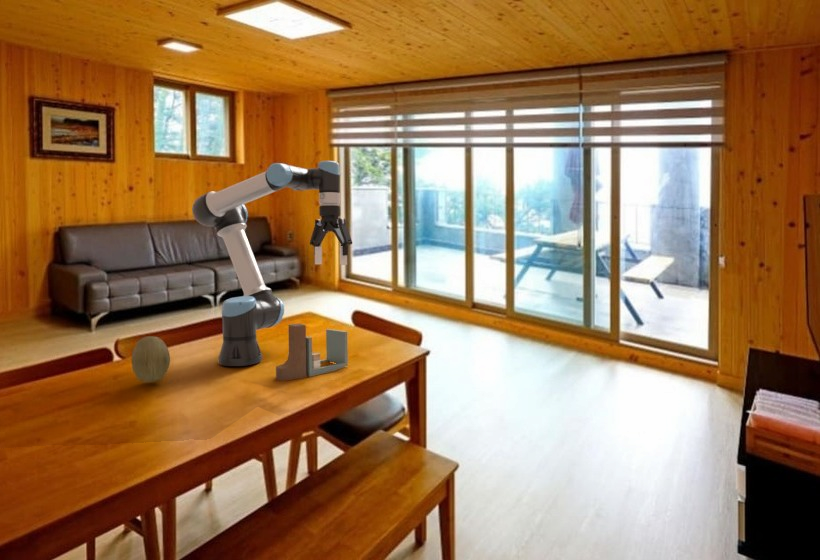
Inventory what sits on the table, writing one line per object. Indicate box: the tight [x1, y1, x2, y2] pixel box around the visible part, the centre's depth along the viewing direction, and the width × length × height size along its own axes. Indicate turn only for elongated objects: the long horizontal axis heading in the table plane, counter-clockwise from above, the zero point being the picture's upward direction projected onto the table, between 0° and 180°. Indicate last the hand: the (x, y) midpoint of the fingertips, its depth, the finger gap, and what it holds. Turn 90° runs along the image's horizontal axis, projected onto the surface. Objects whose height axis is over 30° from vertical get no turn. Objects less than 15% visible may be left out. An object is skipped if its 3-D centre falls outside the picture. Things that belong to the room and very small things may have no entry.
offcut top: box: [312, 351, 321, 361], centre depth 189 cm, size 6×3×2 cm, turn 54°
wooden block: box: [275, 323, 307, 382], centre depth 182 cm, size 9×4×18 cm, turn 125°
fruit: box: [131, 335, 171, 383], centre depth 178 cm, size 11×11×15 cm
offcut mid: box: [312, 359, 321, 368], centre depth 189 cm, size 7×3×2 cm, turn 55°
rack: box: [306, 328, 349, 378], centre depth 193 cm, size 10×17×13 cm, turn 139°
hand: (330, 264), depth 198 cm, fingers open, 13 cm apart
